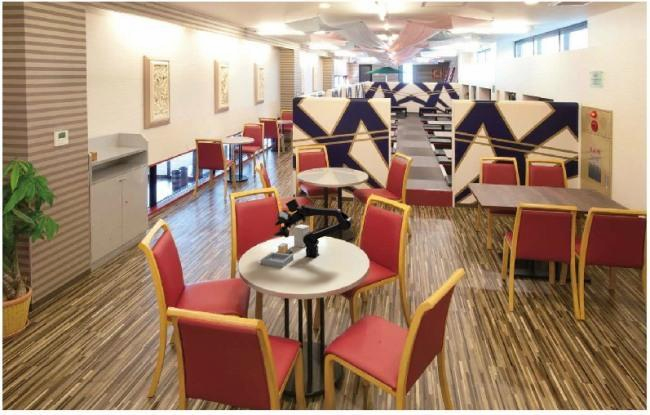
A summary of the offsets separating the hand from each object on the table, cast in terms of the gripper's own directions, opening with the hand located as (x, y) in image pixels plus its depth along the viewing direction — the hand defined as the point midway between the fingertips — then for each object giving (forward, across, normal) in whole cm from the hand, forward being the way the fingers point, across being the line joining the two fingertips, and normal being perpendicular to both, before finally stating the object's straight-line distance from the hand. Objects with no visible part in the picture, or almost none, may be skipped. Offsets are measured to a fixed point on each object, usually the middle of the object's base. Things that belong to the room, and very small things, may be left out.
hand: (274, 230), depth 314 cm
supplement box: (-2, -5, +24) cm, 25 cm away
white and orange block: (+3, +10, +12) cm, 15 cm away
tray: (+1, +22, +5) cm, 23 cm away
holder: (+3, +10, +12) cm, 15 cm away
